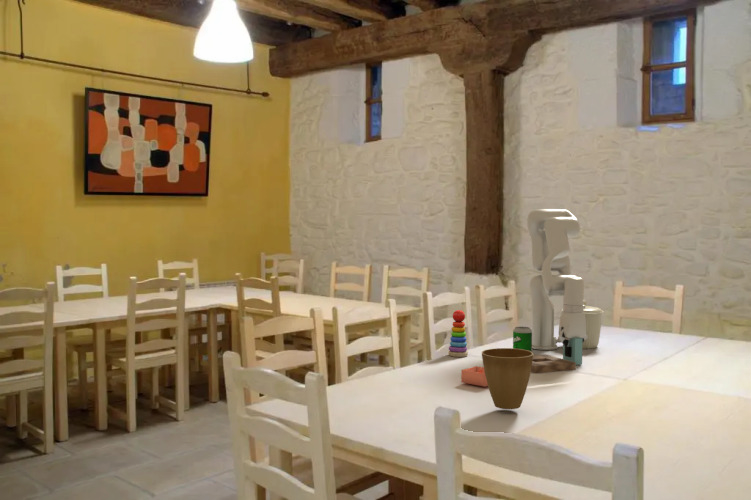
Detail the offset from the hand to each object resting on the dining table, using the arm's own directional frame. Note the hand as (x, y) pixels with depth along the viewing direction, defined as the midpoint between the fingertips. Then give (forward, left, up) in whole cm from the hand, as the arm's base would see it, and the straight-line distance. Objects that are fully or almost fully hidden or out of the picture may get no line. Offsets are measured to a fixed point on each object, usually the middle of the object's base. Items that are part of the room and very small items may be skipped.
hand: (572, 355), depth 266 cm
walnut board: (+15, 0, -3) cm, 15 cm away
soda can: (+10, -19, -3) cm, 21 cm away
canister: (-27, -27, -3) cm, 38 cm away
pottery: (+46, +12, -3) cm, 47 cm away
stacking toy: (+33, -31, -3) cm, 45 cm away
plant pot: (+60, +44, -3) cm, 75 cm away
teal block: (0, 0, -3) cm, 3 cm away
